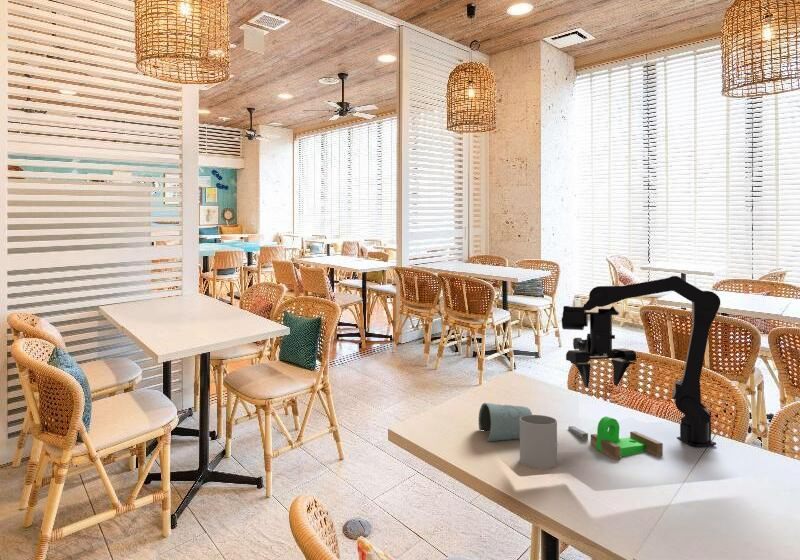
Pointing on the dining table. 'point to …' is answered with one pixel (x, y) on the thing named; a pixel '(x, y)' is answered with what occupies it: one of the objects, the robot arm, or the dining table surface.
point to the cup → (538, 441)
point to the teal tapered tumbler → (501, 420)
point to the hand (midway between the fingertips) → (601, 386)
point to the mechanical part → (617, 437)
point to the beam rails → (615, 450)
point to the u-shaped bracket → (579, 433)
